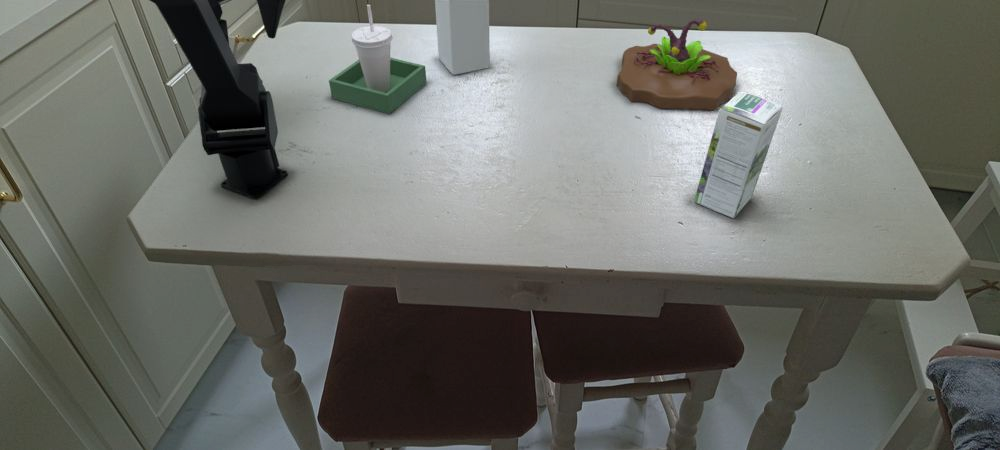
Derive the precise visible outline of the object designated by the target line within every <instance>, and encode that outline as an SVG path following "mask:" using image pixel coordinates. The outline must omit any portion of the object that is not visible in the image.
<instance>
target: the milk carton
mask: <svg viewBox="0 0 1000 450" xmlns="http://www.w3.org/2000/svg"><path fill="white" fill-rule="evenodd" d="M434 7H435V20H436V21H435V23H436V37H437V53H438V59H439V60H440V61H441V63H442V64H443V65H444V67H445V68H446V69H447V70H448V71H449V72H450V74H451V75H453V76H455V75H460V74H466V73H469V72H474V71H480V70H484V69H488V68H490V66H491V65H490V64H491V63H490V62H491V61H490V59H491V57H490V56H491V54H490V0H434Z"/></svg>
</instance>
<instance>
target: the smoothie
mask: <svg viewBox="0 0 1000 450" xmlns="http://www.w3.org/2000/svg"><path fill="white" fill-rule="evenodd" d="M366 9H367V16H368V24H369V25H365V26H361V27H359V28H357V29H354V31H352V33H351V43H352V44H353V45H354V47H355V50H356V54H357V57H358V60H359V61H360V64H361V68H362V71H363V74H364V78H365V81H366V85H367V88H369V89H373V90H377V91H380V92H384V93H385V92H387V91H389V89H390V58H391V42H392V40H393V35H392V30H391V29H390V28H388V27H386V26H382V25H374V21H373V13H372V7H371V4H366Z"/></svg>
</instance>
